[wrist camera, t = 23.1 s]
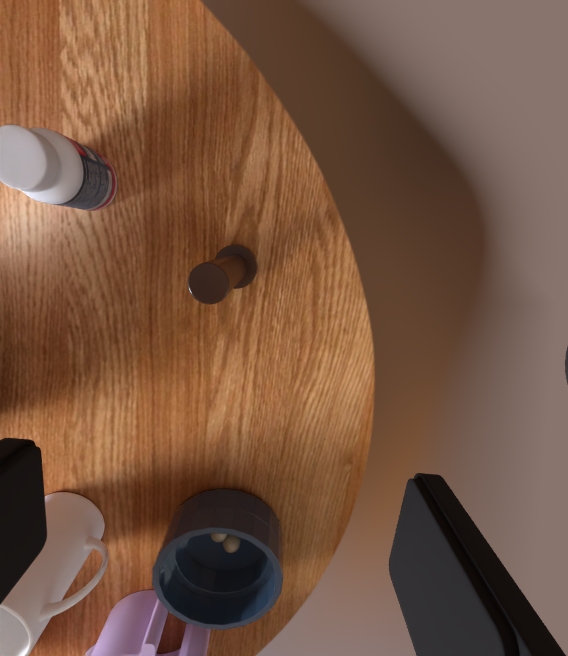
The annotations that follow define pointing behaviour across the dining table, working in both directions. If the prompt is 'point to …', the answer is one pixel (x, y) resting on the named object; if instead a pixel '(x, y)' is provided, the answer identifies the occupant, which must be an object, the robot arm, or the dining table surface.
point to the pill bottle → (55, 168)
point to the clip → (144, 630)
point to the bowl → (220, 561)
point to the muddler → (222, 274)
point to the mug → (52, 572)
